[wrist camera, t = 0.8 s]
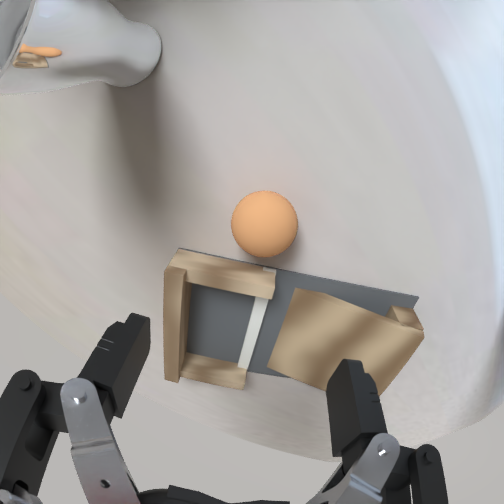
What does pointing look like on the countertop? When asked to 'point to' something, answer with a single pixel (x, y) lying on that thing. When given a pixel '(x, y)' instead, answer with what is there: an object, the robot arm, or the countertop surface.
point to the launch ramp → (343, 339)
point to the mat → (265, 316)
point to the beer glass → (71, 46)
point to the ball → (264, 224)
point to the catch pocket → (178, 305)
